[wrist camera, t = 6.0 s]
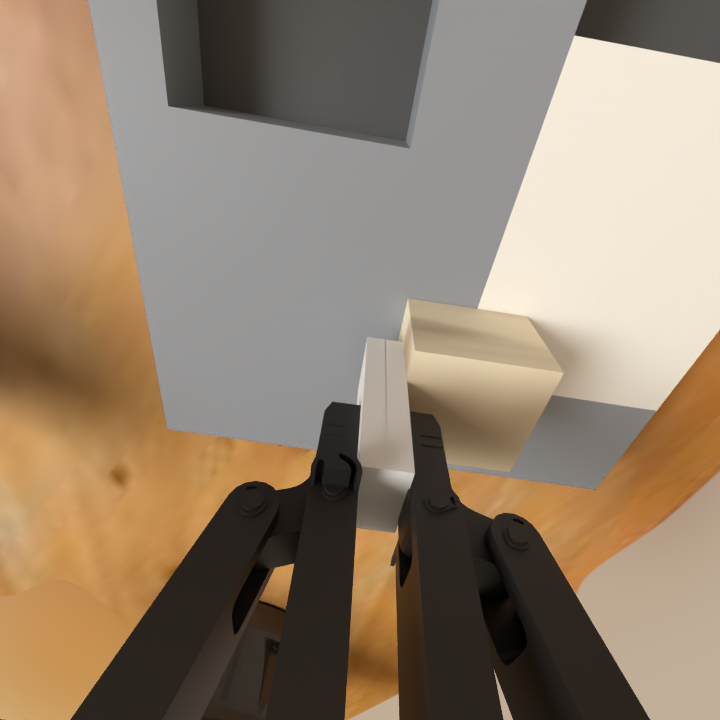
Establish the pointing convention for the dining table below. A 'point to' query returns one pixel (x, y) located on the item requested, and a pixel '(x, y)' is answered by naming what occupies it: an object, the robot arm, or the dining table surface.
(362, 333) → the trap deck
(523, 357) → the birch block
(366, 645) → the dining table surface
